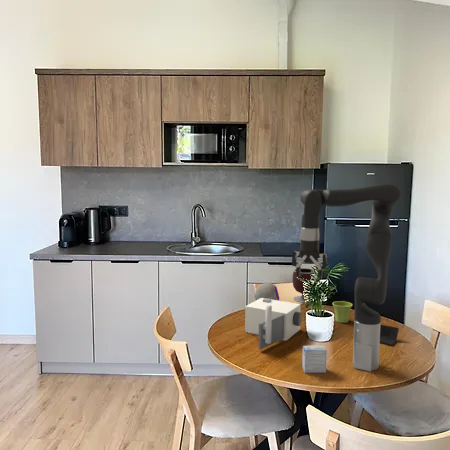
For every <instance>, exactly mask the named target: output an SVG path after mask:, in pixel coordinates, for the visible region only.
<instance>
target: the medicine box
mask: <svg viewBox="0 0 450 450" xmlns="http://www.w3.org/2000/svg"><path fill="white" fill-rule="evenodd" d="M327 353H328V351H327V349H326V347H325V346H324V345H303V346H302V362H301V363H302V364H301V365H302V366H301V367H302V370H303V372H304V373H305V374H313V373H314V374H316V373H317V374H318V373H327V357H328V355H327Z"/></svg>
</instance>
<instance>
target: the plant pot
mask: <svg viewBox="0 0 450 450" xmlns="http://www.w3.org/2000/svg"><path fill="white" fill-rule="evenodd" d="M332 306H333V309H334V317H335V322H337V323H344V324H346V323H349V322H350V321H349V320H350V314H351V309H352V307H353V303H351V302H349V301H345V300H342V301H341V300H340V301H333V302H332Z"/></svg>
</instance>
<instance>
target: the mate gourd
mask: <svg viewBox="0 0 450 450" xmlns="http://www.w3.org/2000/svg"><path fill="white" fill-rule="evenodd" d="M313 269H314V268H306V267H304V268H303V267H301V276H300V277H298V275H296V268H295V269H293V272H292V286H293V289H294V290H295V291H296V292H297V293H300V294H301V295H299V296H298V295H297V296H294V297H293V301H294V302H296V303H299V304H300V303H301V304H306V303H305V299H304V295H303V291H304V287H303V283H304V282H302V281H300V280H298V279H296V278H295V277H298V278H302V279H303V278H304V279H307V280H310V279H311V276H310V274H314V272H313ZM304 284H305V283H304Z"/></svg>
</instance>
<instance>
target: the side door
mask: <svg viewBox="0 0 450 450" xmlns="http://www.w3.org/2000/svg"><path fill="white" fill-rule="evenodd" d="M282 339H284V315H280V316H277V317H275V318H272V306H271V305H266V321H264V322H262V323H259V335H258V350H260V351H261V350H262V349H264V348H265V349H266V348H267V347H269V346H271V345H273V344H276V343H278V342H280V341H283V340H282Z"/></svg>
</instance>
